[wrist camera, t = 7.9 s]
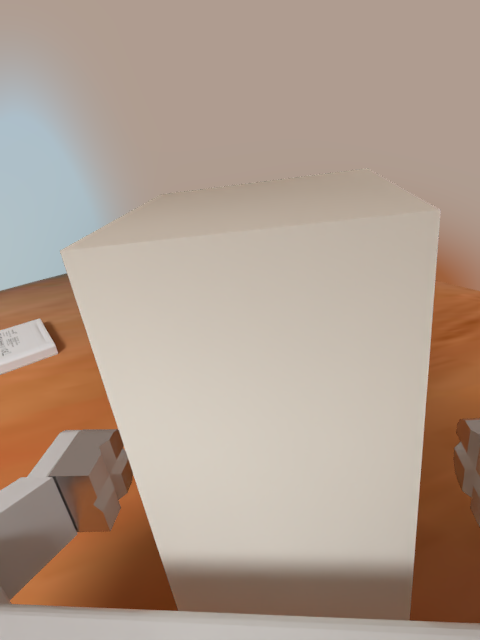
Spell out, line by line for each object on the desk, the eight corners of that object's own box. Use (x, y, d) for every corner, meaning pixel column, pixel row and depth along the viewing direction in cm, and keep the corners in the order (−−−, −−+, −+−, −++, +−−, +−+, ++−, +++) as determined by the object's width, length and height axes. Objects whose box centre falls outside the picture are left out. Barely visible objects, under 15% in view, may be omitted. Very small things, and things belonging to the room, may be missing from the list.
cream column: (224, 752, 11) (59, 250, 5) (241, 583, 15) (161, 194, 9) (398, 768, 10) (440, 210, 4) (367, 586, 14) (368, 168, 8)
